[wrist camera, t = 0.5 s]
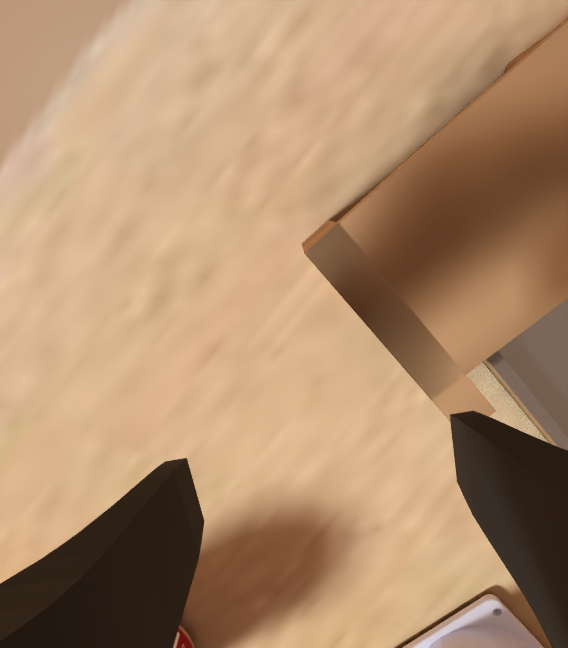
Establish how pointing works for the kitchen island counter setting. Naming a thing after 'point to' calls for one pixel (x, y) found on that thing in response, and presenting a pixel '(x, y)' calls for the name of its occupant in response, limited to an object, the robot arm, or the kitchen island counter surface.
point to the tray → (539, 373)
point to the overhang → (464, 232)
